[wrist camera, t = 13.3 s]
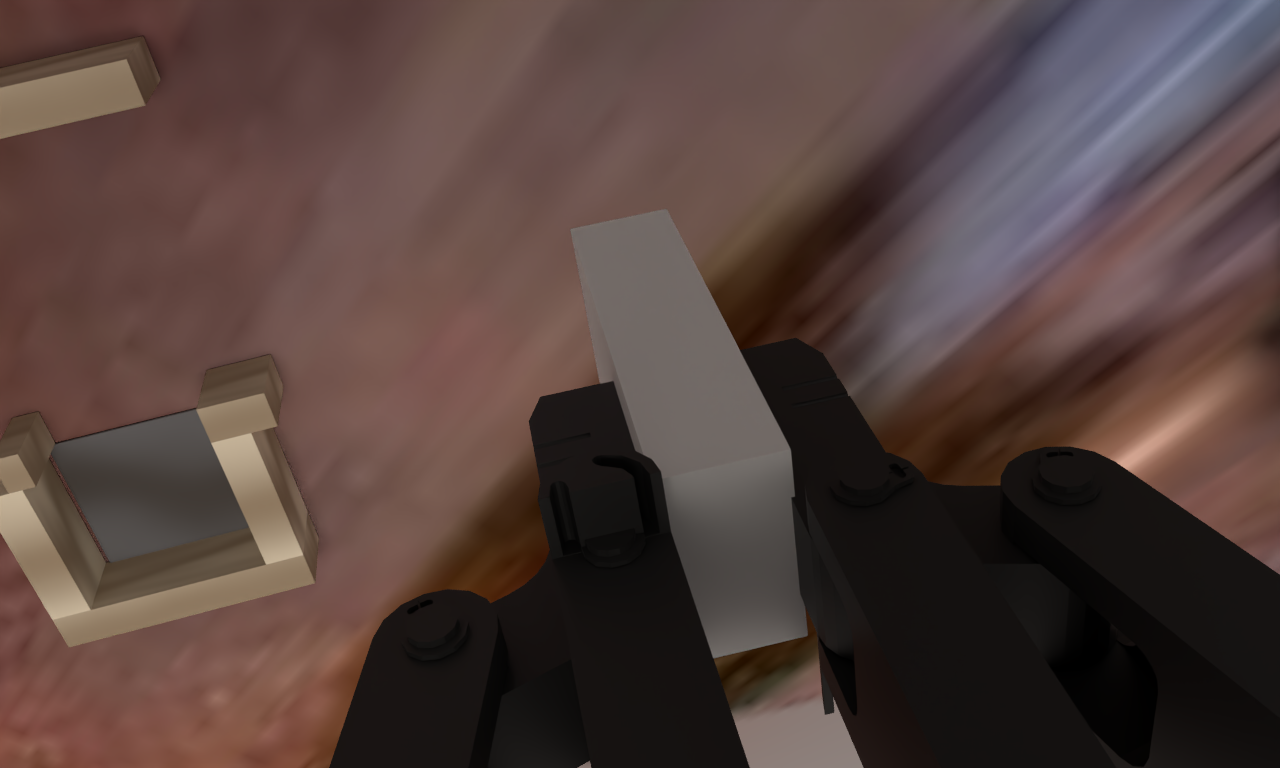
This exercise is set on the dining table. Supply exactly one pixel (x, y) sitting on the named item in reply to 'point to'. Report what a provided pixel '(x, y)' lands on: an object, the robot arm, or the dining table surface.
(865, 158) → the dining table surface
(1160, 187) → the dining table surface
